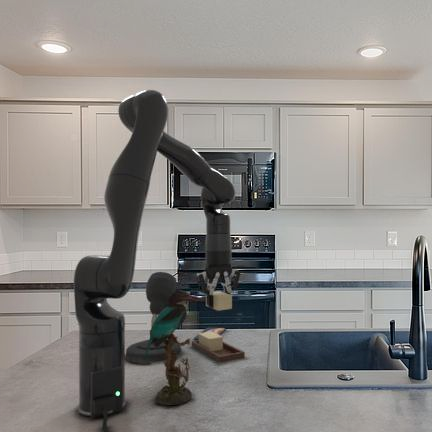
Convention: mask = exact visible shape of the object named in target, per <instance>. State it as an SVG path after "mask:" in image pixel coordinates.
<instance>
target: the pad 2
mask: <svg viewBox="0 0 432 432" xmlns="http://www.w3.org/2000/svg"><path fill="white" fill-rule="evenodd" d="M198 334H199V344H200V345H202V346H204V347H206V348H207V349H209V350H211V351H218V350H223V342H224V337H223V336H222V335H218V334H216V333H214V332H212V331H211V332H205V333H201V332H199V333H198Z"/></svg>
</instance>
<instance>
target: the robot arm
mask: <svg viewBox="0 0 432 432" xmlns="http://www.w3.org/2000/svg"><path fill="white" fill-rule="evenodd" d="M117 109H118V110H117V111H118V112H117V113H118V117H119V120H120V122H121V124H123V126H124V127H125V128H126V129H127V130H128V131H129V132H131V135H130V138H129V139H128V142H127V143H126V144H125V146H124V148H123V149H122V151H121V152H120V154H119V156H118V157H117V158H116V160H115V161H114V163H113V165H112V167H111V168H110V172H109V175H108V178H107V182H106V185H105V186H106V187H105V190H104V195H103V199H104V205H105V208H106V211H107V214H108V217H109V219H110V221H111V224H112V229H113V240H112V246H111V249H110V250H111V251H110V254H109V255H105V254H104V255H101V254H100V255H99V254H93V255H91V254H89V255H85V256H84V257H82V258H80V260H79V261H78V263H77V264H76V267H75V269H74V272H73V273H74V274H73V296H74V311H75V312H74V314H75V318H76V321H77V324H78V403H79V405H78V413H79V414H80V415H82V416H85V417H90V418H91V419H96V418H100V417H103V420H102V430H103V432H110V430H109V429H108V425H107V424H108V418H109V415H113V414H116V413H121V412H123V410H124V407H125V406H126V377H125V376H126V344H125V343H126V322H125V321H126V319H125V315H124V314H123V313H122V312H120V311H119V310H117V309H115V308H114V307H112V306H111V304H110V303H109V302H108V300H107V299H111V300H112V299H113V300H116V299H117V300H118V299H122V298H123V297H125V296H126V295H127V294H128V292H129V291H130V289H131V286H132V283H133V281H134V280H133V279H134V275H135V269H136V261H137V252H138V244H139V243H138V242H139V236H140V231H141V225H142V221H143V216H144V210H145V206H146V203H147V198H148V194H149V190H150V185H151V179H152V174H153V170H154V166H155V162H156V156H157V153H159V154H160V155H161V156H163V157H164V158H165V159H166V160H168V161H169V162H170V163H171V164H172V165H174V166H175V167H176V168H177V170H179V171H180V172H181V174H183V176H185V177H186V179H188V180H189V181H190V183H191V184H193V185H194V186H197V187H201V191H200V201H201V205H202V208H203V209H202V210H203V212H204V216H205V219H206V222H205V230H206V231H205V233H206V234H205V246H204V248H205V269H204V271H203V272H197V273H196V274H195V277H196V281H197V285H198V290H199V292H200V293H201V294H205V297H206V296H207V306H208V307H207V306H206V307H207V308H209V309H212V308H213V292H215V289H216V287H217V284H221V285H222V287H223V292H224V293H227V294H230V295H232V292H234V291H237V289H238V285H239V281H240V277H241V274H242V273H241V271H240V270H238V269H233V267H232V237H231V236H232V235H231V216H230V215H229V214H228V213H226V212H224V211H223V209H222V205H229V204H231V203H232V202H233V201H234V200H235V198H236V194H237V193H236V188H235V185H234V184H233V183H232V181H231V180H229V178H227V177H226V176H225V175H223V174H222V173H221V172H219V171H217V170H216V169H215V168H213V167H212V166H211V165H210V164H209V163H208V162H207V161H206V160H205V158H203V156H202V155H201V154H200V153H199V152H198V151H197V150H195V149H194V148H192V147H191V146H189V145H188V144H186V143H184V142H182V141H180V140H179V139H176V138H175V137H173V136H172V135H170V134H169V133H167V132H166V131H165V128H166V126H167V122H168V118H169V106H168V102H167V99H166V98H165V96H164V95H163V94H162V93H161V92H160V91H158V90H156V89H147V90H143V91H139V92H137V93H135V94H133V95H130V96H128V97H127V98H125V99H123V100H122V101H121V102H120V103H119V105H118V108H117ZM230 277H231V279H230ZM206 278H207V283H206V281H205V280H206Z"/></svg>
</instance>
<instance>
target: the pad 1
mask: <svg viewBox="0 0 432 432" xmlns="http://www.w3.org/2000/svg"><path fill="white" fill-rule="evenodd" d="M205 306H206V307H207V308H209V307H208V306H207V296H206V295H205ZM211 309H213V310H215V311H217V312H219V311H225V310H226V311H227V310H232V309H233V295H232V294H231V295H230V294H227V293H225V291H220V290H217V291H214V292H213V308H211Z"/></svg>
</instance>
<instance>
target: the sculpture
mask: <svg viewBox="0 0 432 432" xmlns="http://www.w3.org/2000/svg"><path fill="white" fill-rule="evenodd" d="M186 302H195V303H197V302H206V299H202V298H201V297H196V296H193V295H190V294H189V293H188V291H186V290H182V289H176V291H174V292H173V293H172V294H171V295H170V298H169V300H168V303H167V305H165V307H164V308H163V310H162V311H161V312H160V314H158V315H157V318H156V319H155V321H154V323H153V326H152V328H151V327H150V330H151V331H150V330H149V339H148V340H149V343H148V346H147V349H146V353H145V355H144V358H143V360H144V359H145V357H146V355H147V353H148V350H149V348H150V345H151V343H152V342H153V340H154V342H153V343H154V346H155V347H156V348H157V347H158V346H159V345H160V344H161V343H163V342H164V344H166V345H165V347H164V349H165V350H166V352H167V355H166V356H165V357H166V360H164V361H163V364H164V367H165V378H166V380H167V385H164V386H163V387H162V388H161V389H160V390H159V391H158V392H157V393H156V396H155V399H154V402H155V403H156V404H157V405H162V406H176V405H181V404H184V403H186V402H188V401H189V400H190V399H191V398H192V391H191V390H190V389H189V388H187V387H185V386H186V385H187V382H188V381H189V371H190V368H191V367H190V363H189V358H188V357H185V358H181V360H180V362H181V363H178V366H177V365H175V364H176V362H177V361H178V358H179V355H177V352H176V351H174V350H172V346H173V345H174V344H175V343H176V344H178V345H179V346H181V347H184V346H186V345H188V346H190V345H191V338H187V339H186V340H184V341H183V342H182V341H181V342H180V341H178V336H176V335H175V334H174V332H175V331H176V330H177V329H178V328H180V327H181V326H182V325H183V324H184V323H185V320H186V319H187V315H188V305H187V303H186ZM181 364H183V365H184V366H185V367H184V370H183V368H181ZM181 378H183V380H182V383H181Z"/></svg>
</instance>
